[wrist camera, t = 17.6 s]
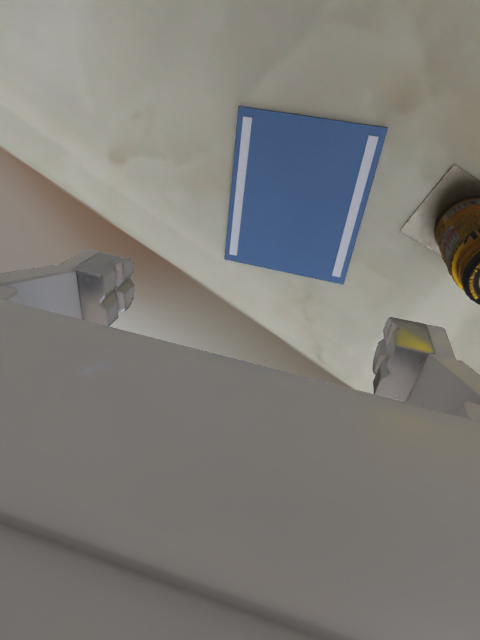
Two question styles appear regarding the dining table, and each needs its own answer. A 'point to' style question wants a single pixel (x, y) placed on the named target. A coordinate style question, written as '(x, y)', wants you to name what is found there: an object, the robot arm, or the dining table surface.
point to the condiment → (452, 227)
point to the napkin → (299, 191)
